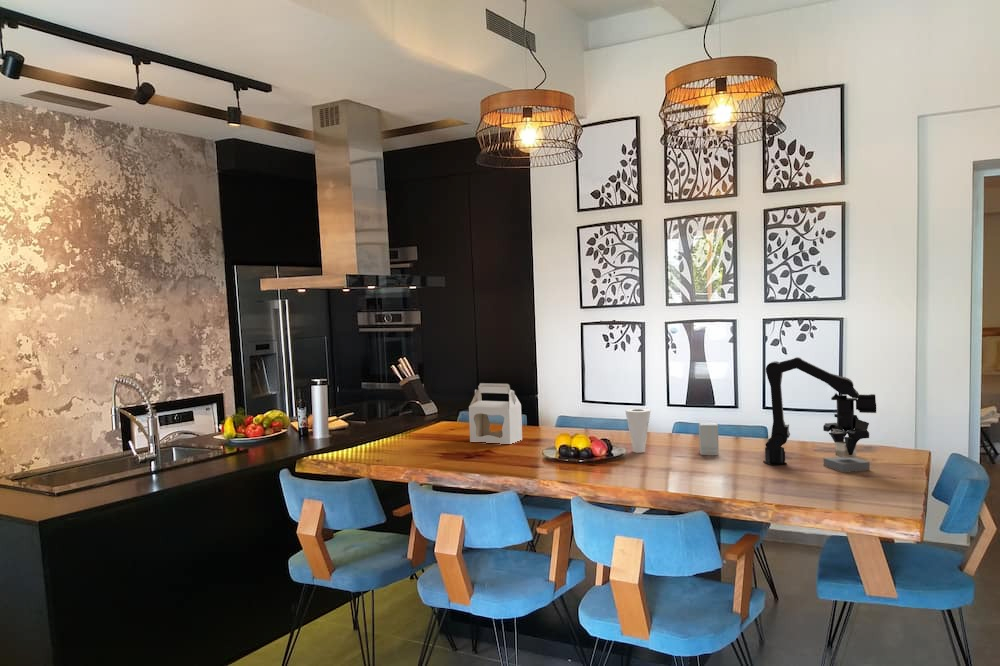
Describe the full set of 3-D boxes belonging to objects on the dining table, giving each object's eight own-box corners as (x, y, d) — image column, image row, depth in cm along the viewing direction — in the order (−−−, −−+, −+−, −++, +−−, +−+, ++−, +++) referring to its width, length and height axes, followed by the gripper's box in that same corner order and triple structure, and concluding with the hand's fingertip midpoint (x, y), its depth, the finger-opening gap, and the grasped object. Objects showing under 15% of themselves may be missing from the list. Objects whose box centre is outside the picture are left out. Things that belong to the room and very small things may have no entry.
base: (842, 472, 256) (842, 464, 256) (823, 465, 267) (823, 458, 267) (869, 470, 258) (869, 462, 258) (849, 463, 269) (849, 456, 269)
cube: (844, 458, 260) (844, 444, 260) (835, 455, 265) (835, 442, 265) (856, 457, 261) (856, 443, 261) (847, 454, 266) (847, 441, 265)
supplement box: (719, 455, 292) (718, 425, 291) (700, 455, 293) (699, 425, 293) (717, 451, 299) (716, 422, 298) (699, 451, 300) (698, 422, 300)
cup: (652, 454, 298) (651, 412, 298) (626, 454, 300) (625, 412, 299) (650, 449, 309) (649, 408, 308) (626, 449, 310) (625, 408, 310)
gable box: (469, 442, 338) (467, 384, 337) (482, 437, 350) (480, 381, 349) (510, 445, 328) (508, 385, 327) (522, 440, 340) (521, 382, 339)
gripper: (882, 414, 254) (882, 457, 255) (848, 407, 273) (848, 447, 273) (854, 416, 252) (855, 459, 253) (822, 409, 271) (822, 449, 271)
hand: (845, 453), depth 263 cm, fingers closed on cube, 5 cm apart
